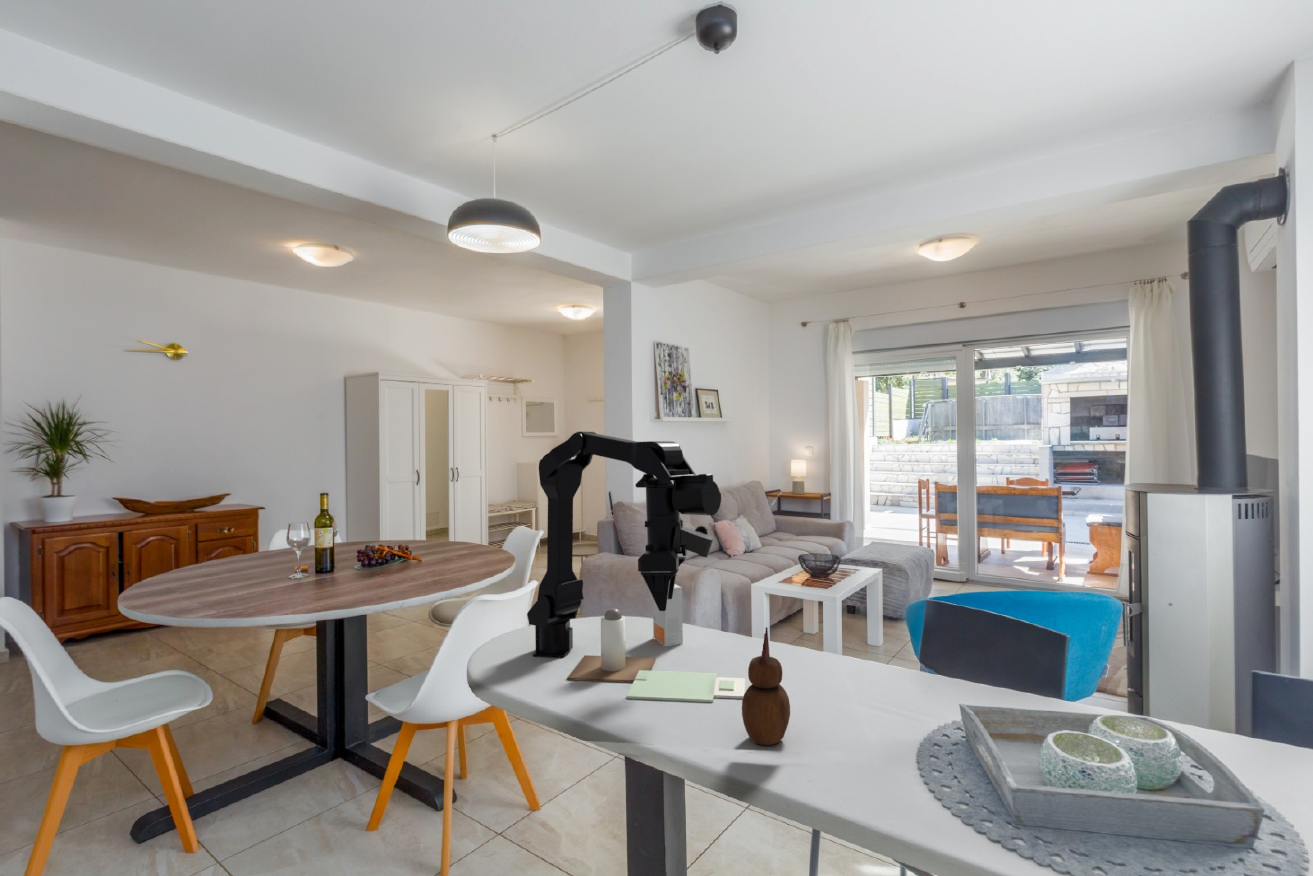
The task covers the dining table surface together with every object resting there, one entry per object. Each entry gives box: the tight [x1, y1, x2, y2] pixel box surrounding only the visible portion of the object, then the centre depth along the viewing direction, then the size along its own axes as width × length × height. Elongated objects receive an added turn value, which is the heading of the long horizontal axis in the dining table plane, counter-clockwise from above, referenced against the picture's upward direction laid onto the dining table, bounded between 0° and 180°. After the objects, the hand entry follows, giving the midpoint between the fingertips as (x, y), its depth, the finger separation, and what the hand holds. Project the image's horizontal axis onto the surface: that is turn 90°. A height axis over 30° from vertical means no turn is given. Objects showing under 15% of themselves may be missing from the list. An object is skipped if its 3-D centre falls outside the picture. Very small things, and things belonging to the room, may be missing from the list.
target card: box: [709, 676, 746, 700], centre depth 106 cm, size 6×8×1 cm
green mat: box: [626, 670, 718, 703], centre depth 107 cm, size 14×12×1 cm
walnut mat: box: [566, 654, 657, 684], centre depth 116 cm, size 14×12×1 cm
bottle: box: [600, 607, 627, 672], centre depth 116 cm, size 4×4×11 cm
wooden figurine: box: [741, 626, 791, 746], centre depth 88 cm, size 7×6×15 cm
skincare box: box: [652, 583, 684, 647], centre depth 132 cm, size 6×4×12 cm
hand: (665, 604), depth 109 cm, fingers open, 8 cm apart
